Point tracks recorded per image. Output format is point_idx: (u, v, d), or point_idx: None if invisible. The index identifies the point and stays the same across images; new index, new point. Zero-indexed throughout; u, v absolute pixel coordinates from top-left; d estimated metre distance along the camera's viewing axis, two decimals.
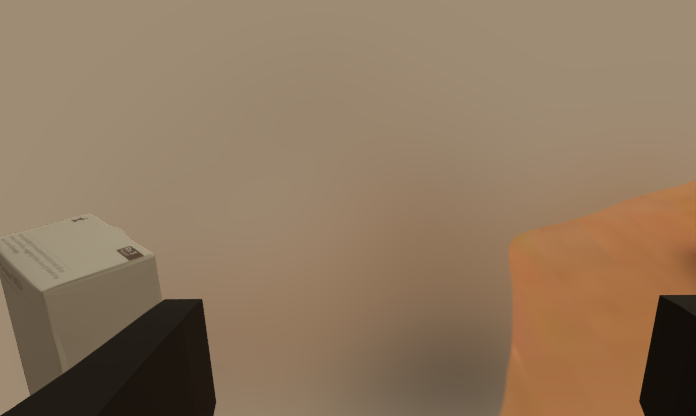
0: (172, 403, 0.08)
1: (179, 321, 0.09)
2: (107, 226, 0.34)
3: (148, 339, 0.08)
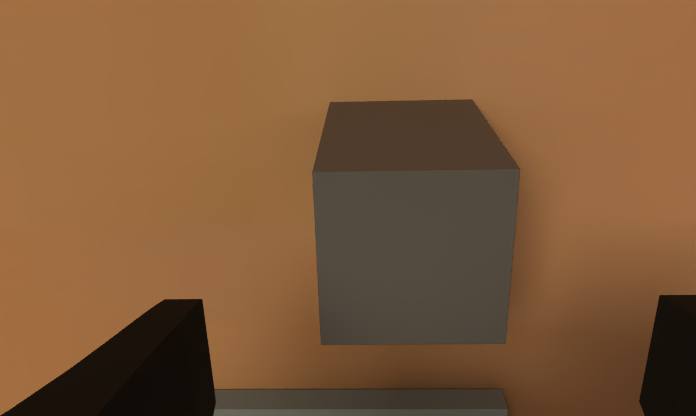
0: (172, 403, 0.08)
1: (179, 321, 0.09)
2: None
3: (148, 339, 0.08)
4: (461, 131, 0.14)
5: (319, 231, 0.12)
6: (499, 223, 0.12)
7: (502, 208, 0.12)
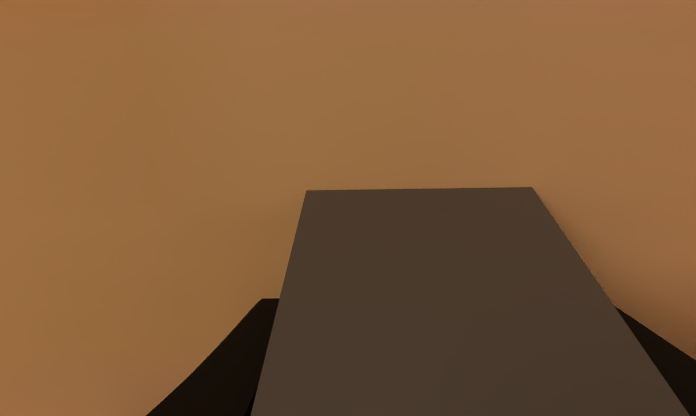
0: None
1: None
2: None
3: (265, 338, 0.08)
4: (536, 280, 0.08)
5: None
6: None
7: None
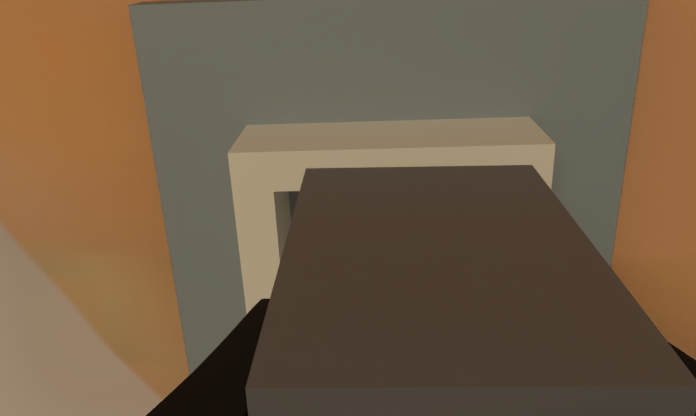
0: None
1: None
2: None
3: None
4: (536, 249, 0.08)
5: None
6: None
7: None
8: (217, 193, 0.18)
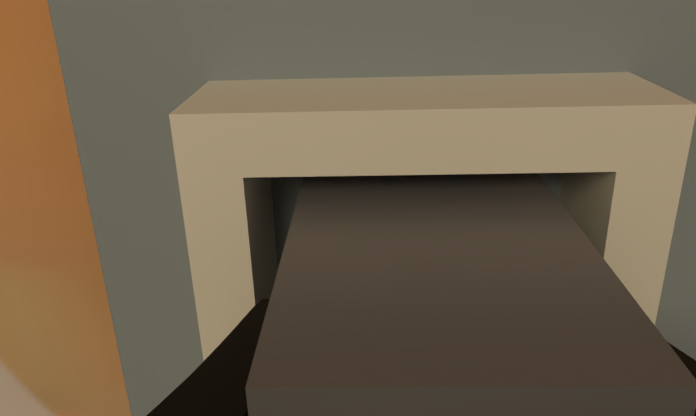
0: None
1: None
2: None
3: None
4: (536, 249, 0.08)
5: None
6: None
7: None
8: (167, 183, 0.12)
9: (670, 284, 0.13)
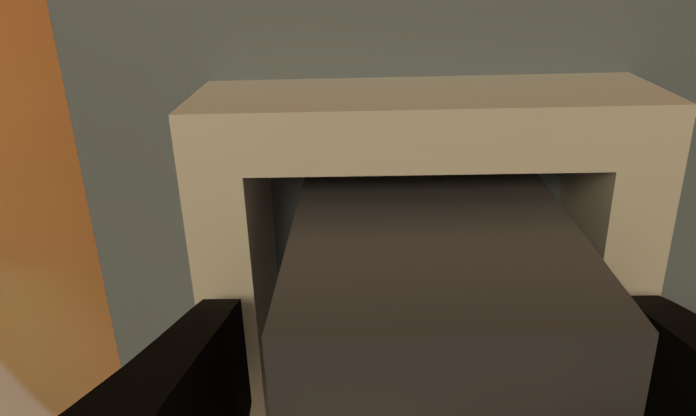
0: (217, 403, 0.08)
1: (223, 321, 0.09)
2: None
3: (195, 339, 0.08)
4: (521, 225, 0.09)
5: None
6: None
7: (619, 398, 0.07)
8: (166, 183, 0.12)
9: (670, 284, 0.13)
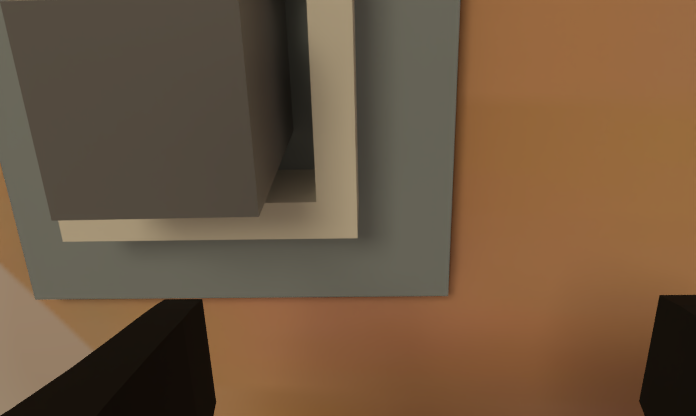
0: (172, 403, 0.08)
1: (179, 321, 0.09)
2: None
3: (148, 339, 0.08)
4: None
5: (21, 77, 0.11)
6: (226, 64, 0.11)
7: (225, 43, 0.11)
8: None
9: (411, 89, 0.17)
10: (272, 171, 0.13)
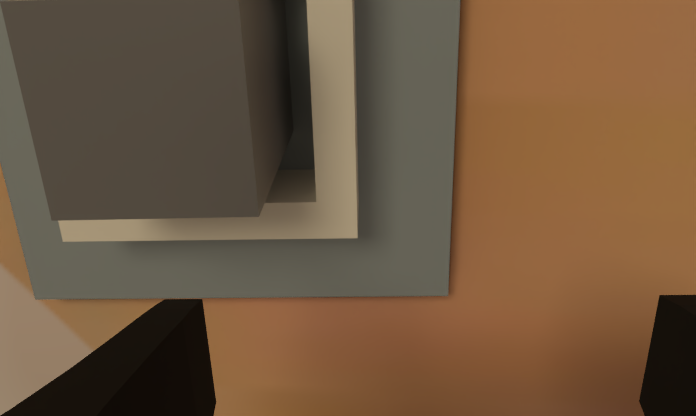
0: (172, 403, 0.08)
1: (179, 321, 0.09)
2: None
3: (148, 339, 0.08)
4: None
5: (21, 77, 0.11)
6: (226, 64, 0.11)
7: (225, 43, 0.11)
8: None
9: (411, 89, 0.17)
10: (272, 171, 0.13)
